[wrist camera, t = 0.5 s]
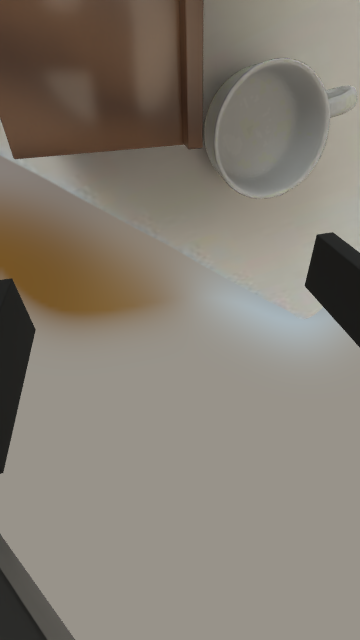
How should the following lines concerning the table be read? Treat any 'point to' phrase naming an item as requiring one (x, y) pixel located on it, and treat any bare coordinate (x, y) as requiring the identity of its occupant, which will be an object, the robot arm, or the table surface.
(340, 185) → the table surface
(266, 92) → the teacup
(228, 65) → the table surface
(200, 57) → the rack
